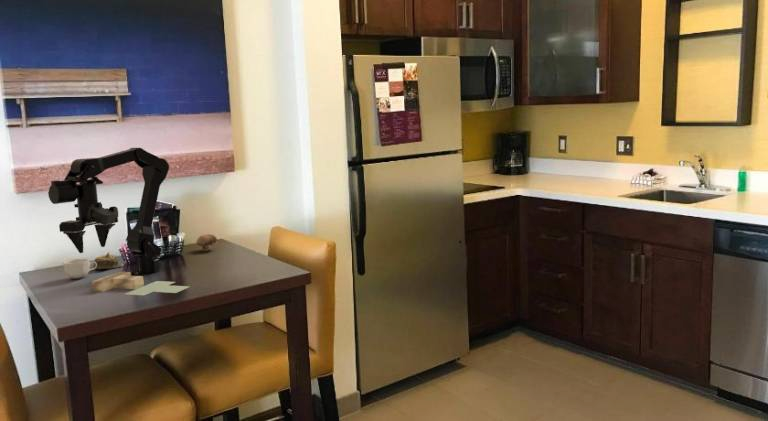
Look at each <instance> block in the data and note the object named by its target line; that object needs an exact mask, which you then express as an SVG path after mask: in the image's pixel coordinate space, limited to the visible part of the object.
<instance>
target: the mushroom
mask: <svg viewBox="0 0 768 421" xmlns="http://www.w3.org/2000/svg"><path fill="white" fill-rule="evenodd" d="M217 243H218V239H217V237H216V236H215V235H213V234H210V233H206V234H202V235H200V236H199V237H198V238H197V239H196V244H197V246H199V247H202V248H201V251H202V252H208V251H209V250H210V249H211V246H214V245H216V244H217Z"/></svg>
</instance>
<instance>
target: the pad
mask: <svg viewBox="0 0 768 421" xmlns="http://www.w3.org/2000/svg"><path fill="white" fill-rule="evenodd" d="M175 283H176V281H166V280H165V281H164V280H156V281H153V282H151V283H148V284H146V285H144V286H142V287H140V288H137V289H132V290H131V291H129V292H126V293H124V295H127V296H129V295H130V296H147V295H148V294H152V293H165V294H166V293H168V294H169V293H170V294H177V293H180V292H181V291H184V290H186V289H188V288H191V286H189V285H188V286H187V285H172V284H175Z"/></svg>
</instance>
